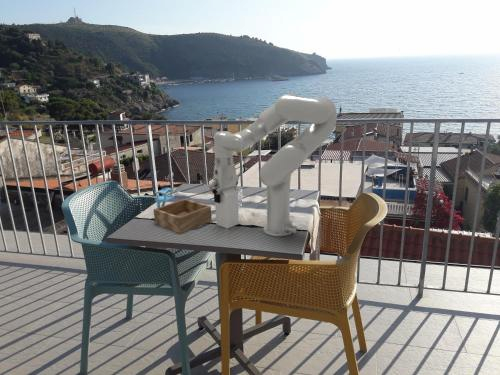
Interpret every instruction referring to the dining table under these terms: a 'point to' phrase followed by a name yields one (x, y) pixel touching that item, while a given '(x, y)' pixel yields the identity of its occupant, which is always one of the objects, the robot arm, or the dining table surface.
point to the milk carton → (227, 208)
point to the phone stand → (164, 197)
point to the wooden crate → (182, 215)
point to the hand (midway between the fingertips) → (225, 199)
